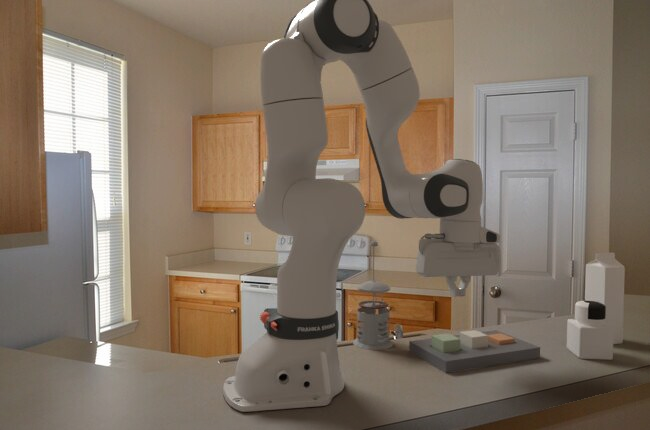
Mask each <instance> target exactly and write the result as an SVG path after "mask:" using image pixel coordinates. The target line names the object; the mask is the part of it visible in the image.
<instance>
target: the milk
mask: <svg viewBox="0 0 650 430" xmlns="http://www.w3.org/2000/svg"><path fill="white" fill-rule="evenodd" d="M625 273H626V268H625V266H624V265H623V264H622V263H621V262H620V261H618V260H617V259H616V253H615V252H597V253H595V259H594V260H592V261H590V262H587V263H586V264H585V276H584V277H585V278H584V279H585V281H584V282H585V283H584V301H595V302H599V303H602V304H603V305H605V307H606V316H605V322H604V323H605V324H606V325H608V326H610V327H612V328H613V329H614V336H613V345H618V344H623V341H624V340H623V338H624V337H623V336H624V333H623V332H624V311H625V310H624V309H625V308H624V305H625V303H624V302H625V279H626V278H625V277H626V276H625V275H626V274H625Z"/></svg>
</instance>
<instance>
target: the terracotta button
mask: <svg viewBox="0 0 650 430" xmlns="http://www.w3.org/2000/svg"><path fill="white" fill-rule="evenodd" d="M504 334H505V333H504ZM504 334H501V333H499V334H492V335H488V341H490V342H493V343H495V344H497V345H504V344H511V343H514V338H512V337H513V336H512V337H509V336H507V335H508V334H507V335H504Z"/></svg>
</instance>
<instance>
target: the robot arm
mask: <svg viewBox="0 0 650 430" xmlns="http://www.w3.org/2000/svg"><path fill="white" fill-rule="evenodd" d="M285 29H286V30H285V32H284V35H283V37H282V38H279V39H276V40H273V41H271V42H270V43H268V44H267V46H265V47H264V49H263V50H262V53H261V58H260V72H259V73H260V76H259V77H260V93H261V95H260V96H261V104H262V112H263V118H264V119H263V120H264V126H265V137H266V143H267V145H266V146H267V160H266V168H265V169H266V170H265V176H264V182H263V186H262V188H261V189H260V191H259V193H258V194H257V197H256V199H255V204H254V206H255V215H256V217H257V220H258V221H259V223H260V224H261V225H262V226H263V227H264V228H266V229H268V230H270V231H271V232H274V233H276V234H278V235H282V236H287V237H292V244H291V249H290V250H289V254H288V257H287V258H286V260H285V262H283V263H282V264H281V265H280V267H279V268H278V271H277V274H276V277H277V279H276V287H277V289H276V291H277V293H276V301H277V302H276V305H277V307H276V309H277V310H276V311H275V312H273V313H272V314H270V313H269V312H268V311H263V312H261V314H260V316H259V320H260V321H261V323H263V324H264V325H266V332H265V334H263V335H262V336H261V337H260V338H258V339H257V340H256V341H255V342H253V343H251V345H250V346H249V347H248V348H246V349H245V350H243V351H242V352H241V354H240V355H239V358H238V360H237V364H236V368H235V375H233V376H229V377H228V378H227V379H225V381H224V383H223V387H222V394H223V397H224V399H225V401H226V402H227V404H228V405H229V406H230V407H231V408H233V409H234V410H237V411H239V412H242V413H243V412H245V413H247V412H259V411H260V412H261V411H262V412H263V411H274V410H287V409H300V408H311V407H323V406H328V405H329V404H330V403H331V402H332V399H333V398H334V397H335V396H337V395H338V394H340V393H341V392H342V391H343V389H344V388H345V381H344V378H343V375H342V371H341V367H340V364H341V363H340V360H339V353H338V352H339V351H338V339H339V331H340V329H339V327H340V326H339V325H340V323H339V312H338V310H337V281H338V279H337V277H338V269H339V264H340V262H341V257H342V255H343V252H344V250H345V248H346V245H347V244H348V242H349V241H350V239H351V238H352V237H353V236H354V235H356V233H357V232H358V231H359V230H360V229H361V227H362V225H363V223H364V220H365V218H366V217H365V215H366V204H365V200H364V196H363V194H362V193H361V191H360V190H359V189H358V187H356V186H355V185H353V184H352V183H349V182H345V181H343V180H339V179H335V178H316V177H317V166H318V162H319V159H320V156H321V154H322V153H323V151H324V150H325V149H326V147H327V145H328V141H329V137H328V127H327V126H328V124H327V120H326V119H327V118H326V111H325V109H326V108H325V101H324V94H323V88H322V83H321V82H322V72H323V69H324V68H323V67H324V66H325V65H326V64H330V63H335V62H337V61H342V63H344V64H345V65H346V66H347V67H348V68H349V69H350V70H351V72H352V74H353V77H354V78H355V81H356V84H357V88H358V89H359V92H360V95H361V98H362V99H363V104H364V108H365V112H366V113H365V115H366V119H365V127H366V128H365V129H366V133H367V137H368V141H369V144H370V149H371V152H372V154H373V158H374V162H375V165H376V168H377V172H378V175H379V178H380V183H381V184H380V186H381V197H382V202H383V205H384V208H385V210H386V211H387V212H388V213H389V215H391V216H393V217H394V218H397V219H399V220H400V219H403V220H404V219H413V218H416V219H417V218H418V219H440V220H439V233H425V234H424V235H423V236H421V237H420V238H419V240H418V252H417V257H416V264H415V265H416V266H415V271H416V273H417V275H418V276H421V277H425V278H441V277H443V278H445V282H446V283H447V285H448V287H449V296H450V297H454V298H457V297H465V296H466V291H467V290H466V289H467V288H468V286H469V284H470V283H471V281H472V279H471V278H472V277H481V276H489V277H490V276H497V275H498V274H499V272H500V271H501V260H502V259H501V247H500V246H499V244H498V243H500V242H501V235H500V234H499V233H498V232H495V231H494V230H492V229H489V228H486V227H484V226H482V223H483V222H482V221H483V220H482V216H481V207H482V204H483V199H484V198H483V194H484V185H483V184H484V183H483V181H484V180H483V174H482V169H481V166H480V165H479V164H478V163H476V162H475V161H472V160H468V159H462V158H451V159H448V160H446V162H445V163H444V164H443V165H442V166H440V167H439V168H437V169H435V170H433V171H430V172H426V173H415V174H413V173H411V172H410V171H409V170H408V169H407V167H406V165H405V161H404V156H403V153H402V149H401V147H400V143H399V138H398V136H399V130H400V128H401V126H402V124H404V123H405V122H406V121H407V120H408V119H409V118H410V117H411V116H412V114H414V112H415V110H416V108H417V106H418V104H419V101H420V97H421V93H420V86H419V81H418V78H417V76H416V73H415V71H414V67H413V66H412V63H411V60H410V58H409V55H408V53H407V51H406V49H405V47H404V45H403V43H402V41H401V40H400V37H399V36H398V34H397V33H396V31H395V30H394V28H393V26H392V25H391V24H390V23H389V22H387V21H386V20H382V19H379V18H378V15H377V14H376V13H375V11H374V9H373V7H372V5H371V4H370V2H369V0H313V1H310V2H308V3H307V4H306V5H305V6H304V7H303V8H302V9H301V10H300V11H299V12H298V13H297V14H296V15H295V16H294V17H292V18H291V19H290V21H289V23H288V24H287V27H286V28H285ZM458 277H459V280H461V281H460V282H459V284H458V286H457V284H456V282H457V281H458Z"/></svg>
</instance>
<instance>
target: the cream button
mask: <svg viewBox="0 0 650 430" xmlns="http://www.w3.org/2000/svg"><path fill="white" fill-rule="evenodd" d="M481 332H482V331H478V330H476V329H474V330H473V329H472V330H466V331H464V330H463V331H460V332H459V335H460V337H459V339H460V344H462V345H464V346H466V347H468V348H470V349H476V348H483V347H488V335H486V334H483V333H481Z"/></svg>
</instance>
